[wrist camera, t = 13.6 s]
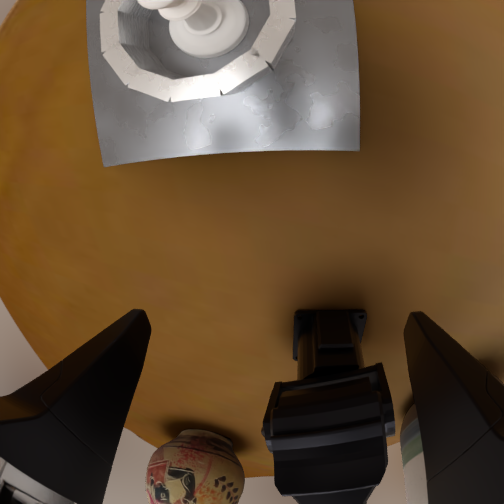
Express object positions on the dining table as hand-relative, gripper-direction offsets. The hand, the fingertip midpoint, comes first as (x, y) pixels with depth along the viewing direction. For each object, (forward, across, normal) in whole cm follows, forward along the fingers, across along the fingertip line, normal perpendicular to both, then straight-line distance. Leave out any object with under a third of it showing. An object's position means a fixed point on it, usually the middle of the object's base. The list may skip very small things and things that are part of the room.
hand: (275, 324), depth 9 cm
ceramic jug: (+13, +14, +42) cm, 46 cm away
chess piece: (+12, +4, -12) cm, 17 cm away
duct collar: (+13, +4, -12) cm, 18 cm away
